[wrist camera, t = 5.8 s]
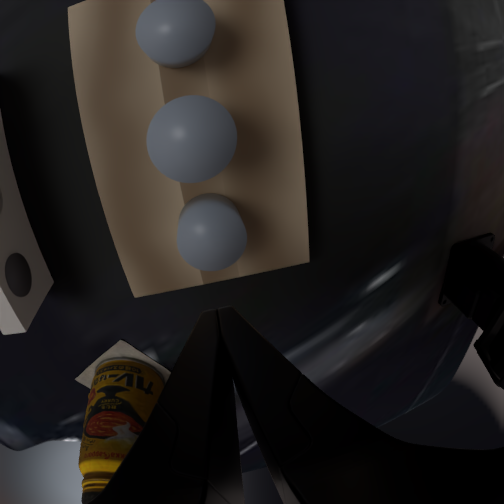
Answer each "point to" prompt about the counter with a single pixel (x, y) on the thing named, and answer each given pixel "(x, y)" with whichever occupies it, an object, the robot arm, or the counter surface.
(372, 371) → the counter surface
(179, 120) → the button mid
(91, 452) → the condiment
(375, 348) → the counter surface
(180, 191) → the board
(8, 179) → the white flat bar
